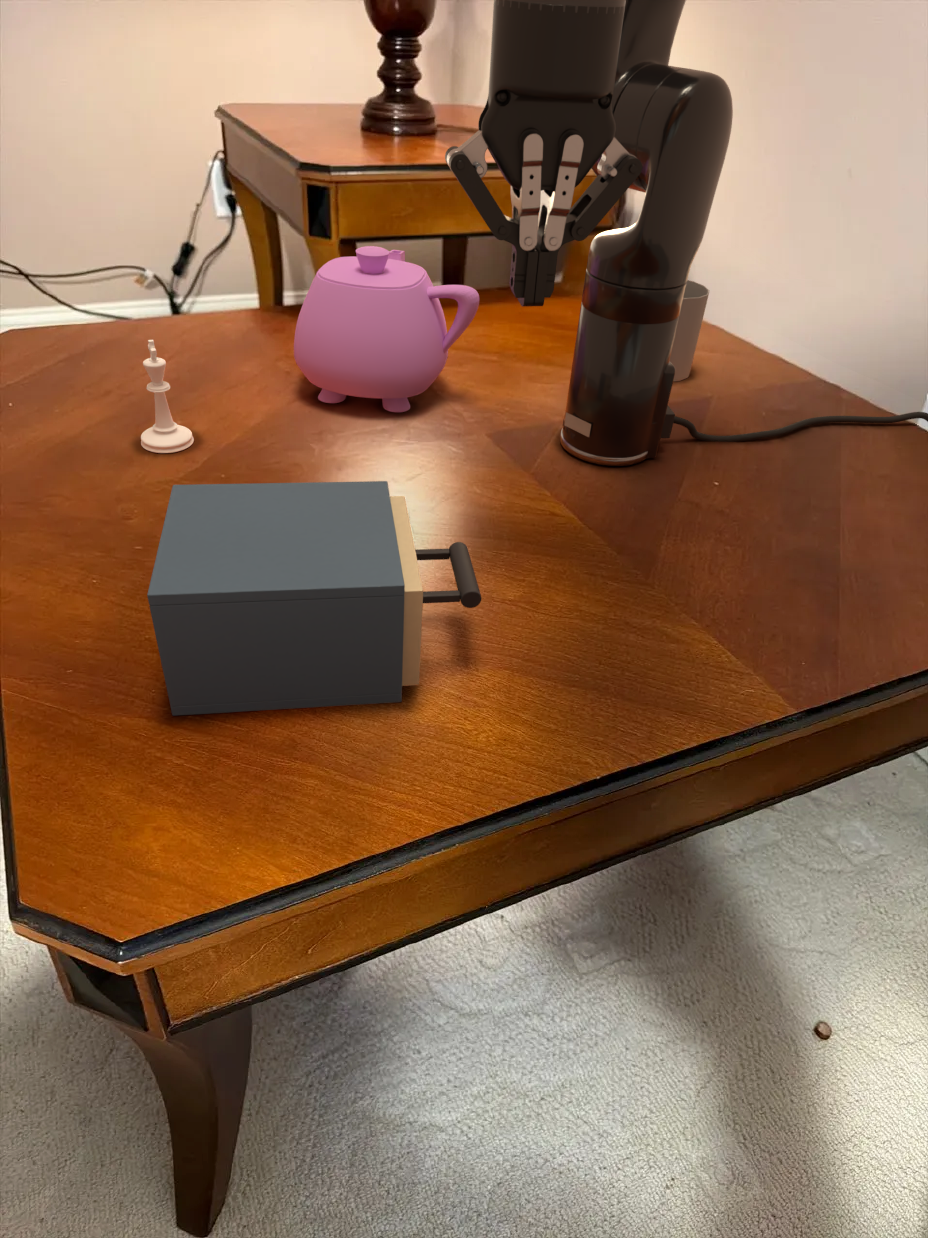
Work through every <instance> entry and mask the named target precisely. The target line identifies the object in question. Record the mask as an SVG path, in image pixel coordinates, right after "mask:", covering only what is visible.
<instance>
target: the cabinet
mask: <svg viewBox="0 0 928 1238" xmlns="http://www.w3.org/2000/svg"><path fill="white" fill-rule="evenodd" d="M390 496H391V495H390V489H389V483H388V481H387V480H376V481H375V480H374V481H373V480H372V481H371V480H369V481H368V480H367V481H366V480H365V481H319V482H317V481H315V482H314V481H313V482H312V481H311V482H310V481H309V482H262V483H261V482H259V483H257V482H256V483H255V482H253V483H211V484H210V483H206V484H205V483H203V484H199V483H198V484H197V483H195V484H173V485H172V487H171V491H170V496H169V499H168V504H167V508H166V512H165V517H164V522H163V525H162V531H161V534H160V537H159V542H158V547H157V551H156V554H155V555H156V556H155V560H154V564H153V569H152V572H151V577H150V582H149V585H148V590H147V594H146V596H147V601H148V605H149V606H148V607H149V611H150V615H151V616H150V617H151V621H152V625H153V630H154V634H155V640H156V644H157V650H158V653H159V659H160V663H161V669H162V672H163V678H164V682H165V688H166V692H167V696H168V701H169V706H170V712H171V716H174V717H176V716H190V715H192V716H193V715H207V714H208V715H210V714H224V713H225V714H226V713H240V712H241V713H242V712H259V711H276V710H291V709H292V710H293V709H308V708H309V709H310V708H311V709H312V708H324V707H326V708H327V707H342V706H361V705H374V704H375V705H376V704H377V705H378V704H392V703H393V704H394V703H402V701H403V686H402V670H403V633H404V594H405V584H404V578H403V572H402V566H401V560H400V554H399V548H398V542H397V536H396V530H395V524H394V518H393V512H392V506H391V500H390Z"/></svg>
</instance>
